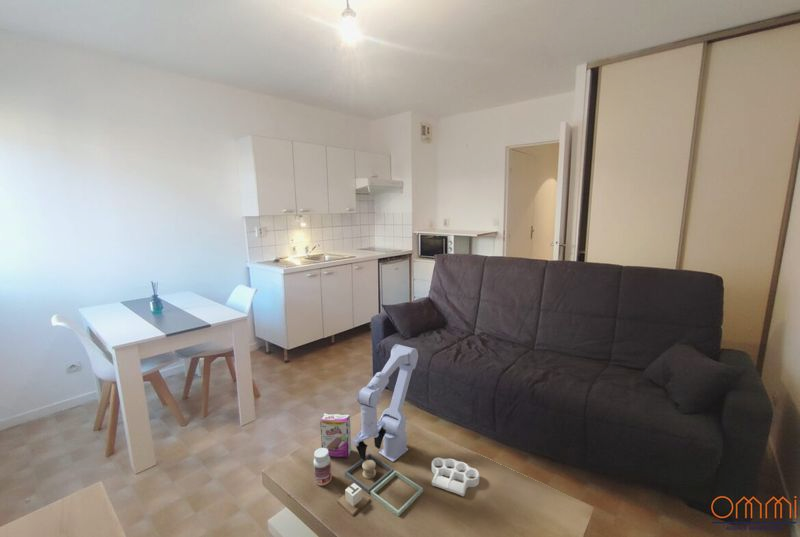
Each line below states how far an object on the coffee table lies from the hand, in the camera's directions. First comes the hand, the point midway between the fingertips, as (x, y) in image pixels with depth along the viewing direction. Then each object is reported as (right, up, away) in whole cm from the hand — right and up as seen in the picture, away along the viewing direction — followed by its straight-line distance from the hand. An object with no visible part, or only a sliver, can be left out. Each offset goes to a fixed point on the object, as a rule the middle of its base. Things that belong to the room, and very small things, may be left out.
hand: (370, 452), depth 129 cm
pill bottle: (-17, -10, 0) cm, 20 cm away
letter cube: (-5, -11, -10) cm, 15 cm away
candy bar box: (-15, -8, +13) cm, 21 cm away
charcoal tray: (-1, -9, +2) cm, 9 cm away
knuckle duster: (+31, -10, 0) cm, 32 cm away
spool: (-1, -9, +2) cm, 10 cm away
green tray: (+10, -11, -7) cm, 16 cm away
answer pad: (-5, -11, -10) cm, 16 cm away
